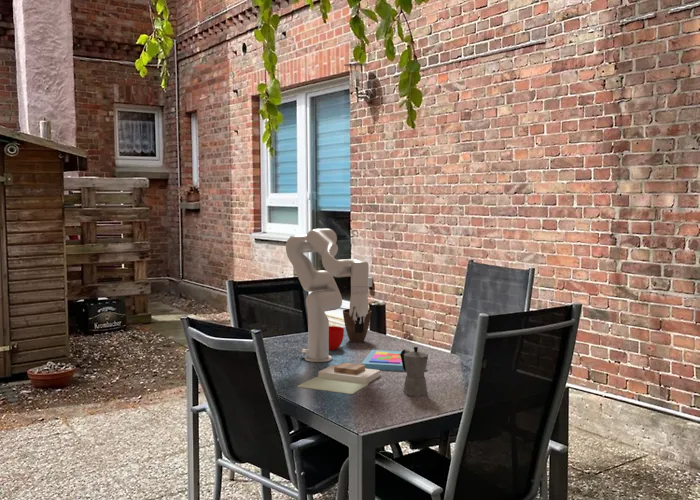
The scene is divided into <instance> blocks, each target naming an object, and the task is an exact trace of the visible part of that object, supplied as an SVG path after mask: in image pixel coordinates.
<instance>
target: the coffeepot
mask: <svg viewBox="0 0 700 500" xmlns="http://www.w3.org/2000/svg"><path fill="white" fill-rule="evenodd" d="M418 350H419V347H418V346H414V347H413V351H410V350H407V349H402V350H401V351H402V352H401V354H400V355H401V360H402V365H403V369H404V370H405V371H404V372H406V376H405V381H404V384H403V390H402V391H403V394H405V396H411V397H423V396H426V395H427V394H428V388H427V381H426V376H425V373H426V370H427V364H428V360H429V355H428V354H427V353H426V352H421V351H418Z"/></svg>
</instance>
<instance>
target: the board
mask: <svg viewBox="0 0 700 500" xmlns="http://www.w3.org/2000/svg"><path fill="white" fill-rule="evenodd" d="M338 365H339V364H332V365H329V366H327V367H326V368H323V369H321V370H320V371H319V370H318V371H317V377H321V378H329V379H337V380H345V381H353V382H360V383H368V384H370V383H372V382H373V381H374V380H376V379H377V378H380V377H381V370H376V369H366V368H365V370H364V371H362V372H360V373H358V374H348V373H340V372H334V367H336V366H338Z"/></svg>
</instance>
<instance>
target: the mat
mask: <svg viewBox="0 0 700 500" xmlns="http://www.w3.org/2000/svg"><path fill="white" fill-rule="evenodd" d="M369 385H370V383H360V382H353V381H345V380H337V379H329V378H321V377H318V376H315V377H313V378H311V379H308V380H307V381H305V382H302V383H301V384H299V385H297V387H296V388H301V389H302V388H303V389H309V390H316V391H323V392H330V393H338V394H339V393H340V394H346V395H353V394H356V393H357V392H359V391H361V390H362V389H364V388H366V387H367V386H369Z"/></svg>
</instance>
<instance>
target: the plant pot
mask: <svg viewBox="0 0 700 500" xmlns="http://www.w3.org/2000/svg"><path fill="white" fill-rule="evenodd" d="M349 310H350V308H346V309H343V310H342V317H343V322H344V327H345V331H346V334H347V337H348V340H349V342H351V343H363V342H365V340H366V337H367V333H368V331H369V326H370V323H371V317H372V310H371V309H368V314H367V315H366V317H365V318H364V332H362V333H355V321H354V320H353V316H352V317H350V315H349ZM357 316H358V315H357Z"/></svg>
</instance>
